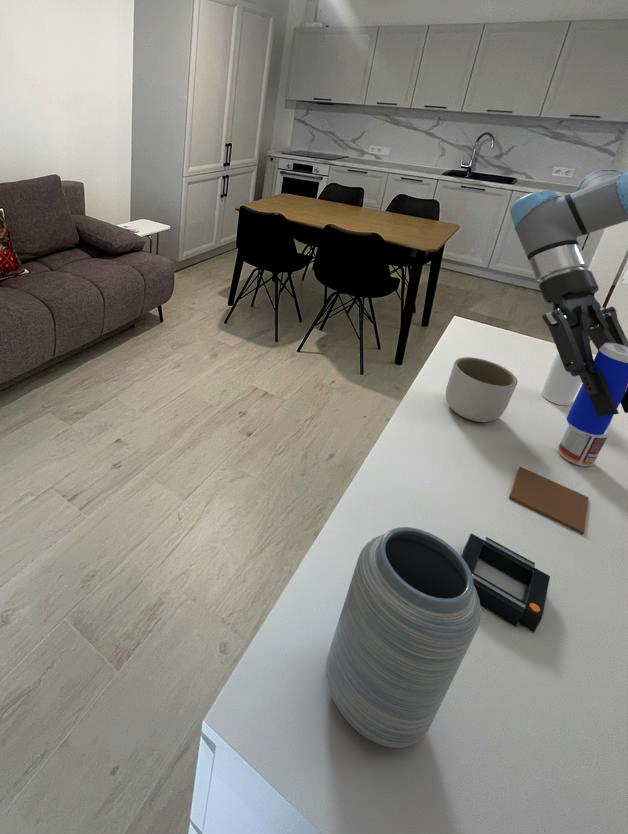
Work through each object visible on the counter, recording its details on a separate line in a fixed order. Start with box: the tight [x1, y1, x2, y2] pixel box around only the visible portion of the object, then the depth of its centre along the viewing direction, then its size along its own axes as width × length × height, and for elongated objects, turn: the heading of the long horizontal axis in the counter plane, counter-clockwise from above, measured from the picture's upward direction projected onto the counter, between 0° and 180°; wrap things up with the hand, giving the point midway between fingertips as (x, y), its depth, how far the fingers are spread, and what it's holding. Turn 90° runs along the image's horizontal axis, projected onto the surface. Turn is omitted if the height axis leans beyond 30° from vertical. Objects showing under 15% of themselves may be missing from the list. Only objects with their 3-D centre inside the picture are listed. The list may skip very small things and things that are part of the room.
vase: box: [325, 526, 482, 749], centre depth 54 cm, size 12×12×23 cm
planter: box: [445, 356, 518, 423], centre depth 113 cm, size 12×12×11 cm
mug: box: [540, 351, 585, 406], centre depth 122 cm, size 10×7×12 cm, turn 148°
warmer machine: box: [460, 532, 551, 633], centre depth 73 cm, size 11×11×3 cm
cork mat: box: [508, 466, 590, 535], centre depth 91 cm, size 11×11×1 cm
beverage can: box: [566, 343, 628, 436], centre depth 80 cm, size 5×5×15 cm
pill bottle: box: [557, 417, 614, 468], centre depth 100 cm, size 6×6×11 cm
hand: (621, 413), depth 77 cm, fingers closed on beverage can, 5 cm apart
